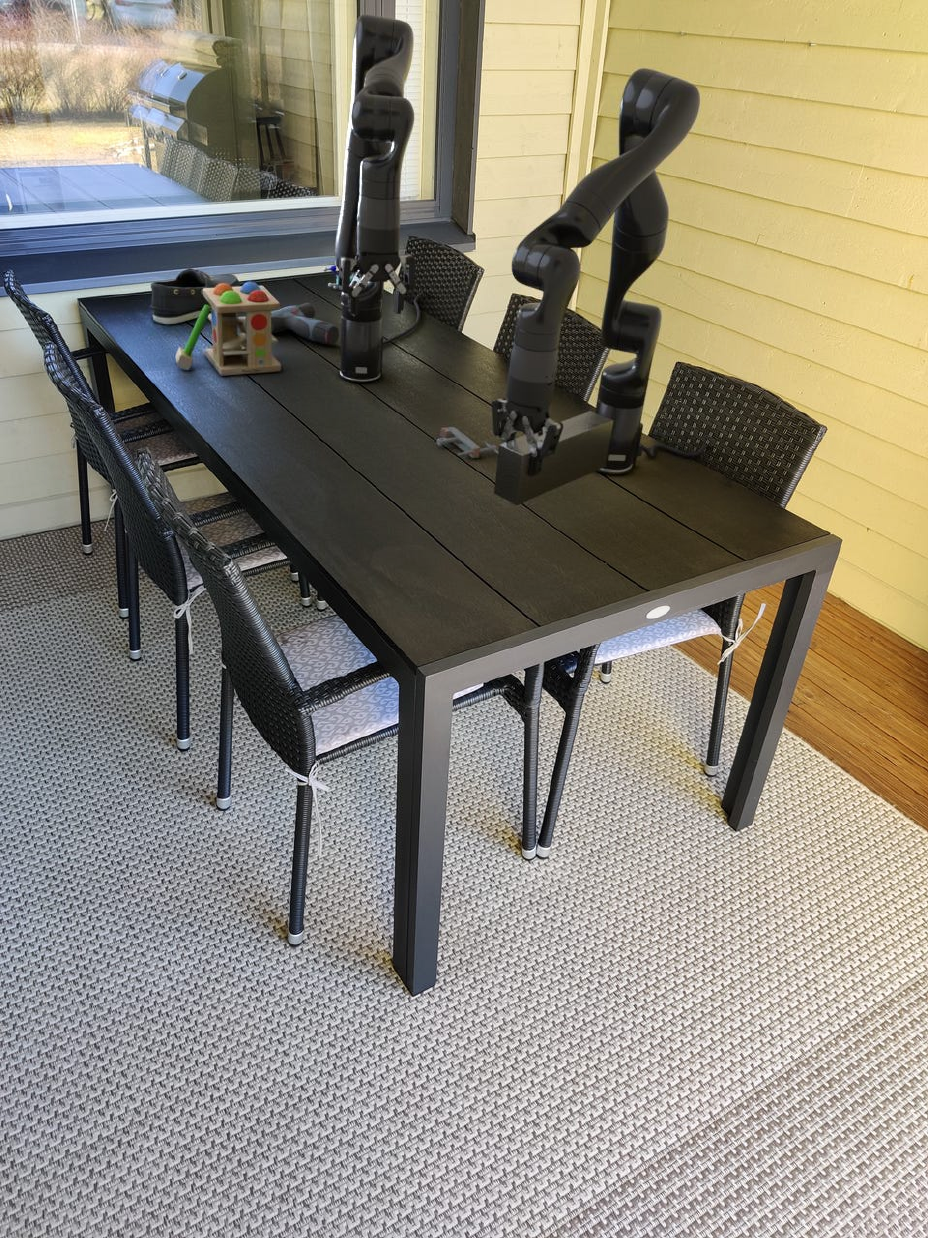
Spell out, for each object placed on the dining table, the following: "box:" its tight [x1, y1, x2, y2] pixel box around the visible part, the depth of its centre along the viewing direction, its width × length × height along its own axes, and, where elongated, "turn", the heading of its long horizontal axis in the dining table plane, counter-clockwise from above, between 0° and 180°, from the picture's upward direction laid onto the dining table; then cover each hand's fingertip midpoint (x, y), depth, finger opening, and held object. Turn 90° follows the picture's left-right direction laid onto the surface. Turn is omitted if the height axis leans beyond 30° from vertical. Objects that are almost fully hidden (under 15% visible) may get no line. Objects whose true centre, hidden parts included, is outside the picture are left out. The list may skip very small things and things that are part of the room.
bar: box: [493, 410, 613, 506], centre depth 172 cm, size 25×5×9 cm, turn 136°
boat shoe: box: [150, 268, 242, 325], centre depth 260 cm, size 13×33×10 cm, turn 147°
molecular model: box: [322, 260, 356, 290], centre depth 284 cm, size 12×10×10 cm
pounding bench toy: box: [174, 281, 282, 377], centre depth 225 cm, size 23×14×18 cm, turn 116°
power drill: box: [271, 302, 340, 346], centre depth 252 cm, size 5×19×20 cm
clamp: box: [436, 426, 499, 459], centre depth 201 cm, size 15×2×10 cm
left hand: (376, 314), depth 182 cm, fingers open, 8 cm apart
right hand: (520, 468), depth 166 cm, fingers closed on bar, 5 cm apart
